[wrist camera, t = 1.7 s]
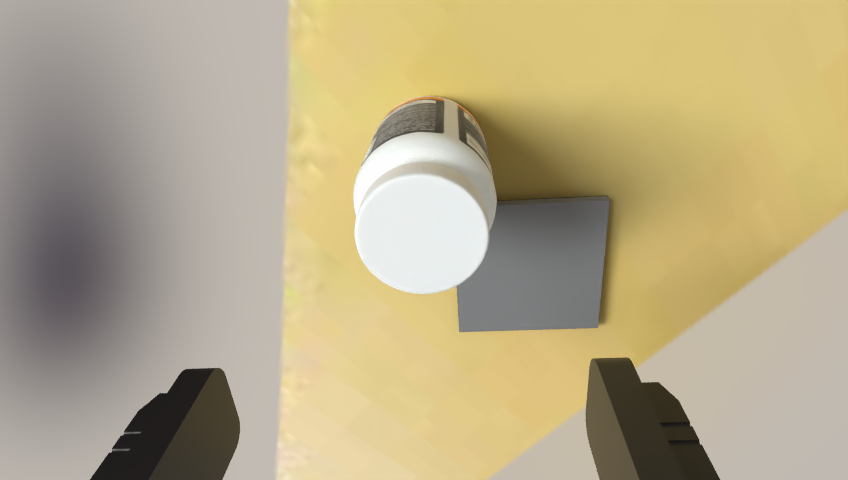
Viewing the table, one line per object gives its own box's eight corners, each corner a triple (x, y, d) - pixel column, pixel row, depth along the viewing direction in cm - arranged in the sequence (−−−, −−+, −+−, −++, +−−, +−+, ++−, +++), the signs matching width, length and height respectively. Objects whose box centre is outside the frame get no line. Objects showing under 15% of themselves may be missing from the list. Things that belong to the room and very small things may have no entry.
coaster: (452, 203, 28) (452, 207, 28) (607, 195, 28) (609, 200, 27) (459, 325, 32) (459, 331, 31) (595, 321, 31) (597, 327, 31)
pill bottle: (366, 188, 28) (327, 291, 19) (385, 80, 26) (350, 141, 17) (470, 211, 28) (479, 321, 20) (500, 106, 26) (525, 180, 17)
